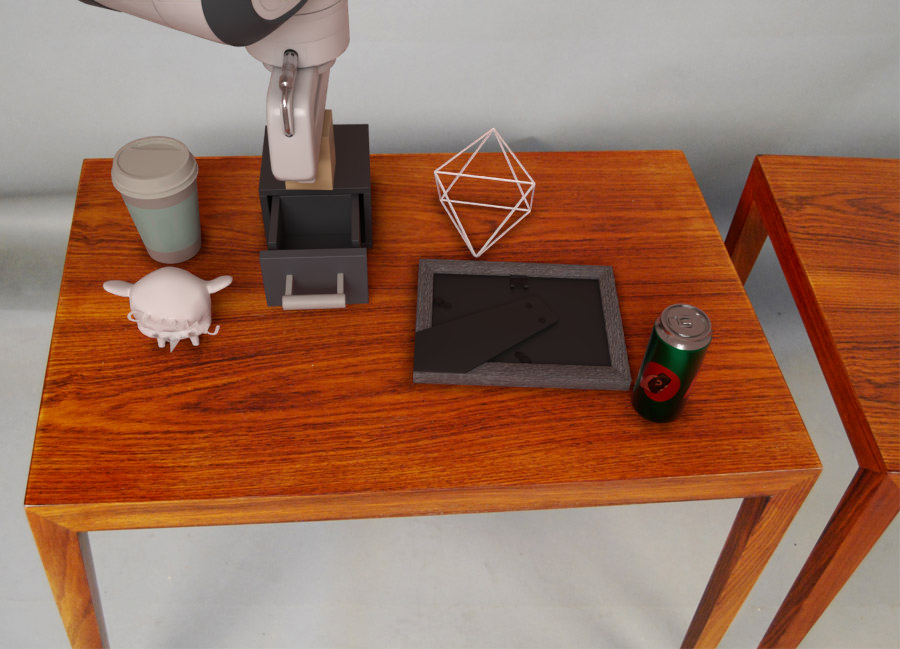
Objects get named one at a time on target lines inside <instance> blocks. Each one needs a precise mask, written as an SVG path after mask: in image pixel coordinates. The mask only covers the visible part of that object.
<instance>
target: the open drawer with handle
mask: <svg viewBox="0 0 900 649" xmlns="http://www.w3.org/2000/svg"><path fill="white" fill-rule="evenodd" d="M268 244H269V250H268V249H266V250H259V259H258V260H259V265H260V271H261V272H260V273H261V277H262V283H263V288H264V295H265V301H266V307H268V308H270V307H271V308H272V307H282V311H292V310H293V311H294V310H295V311H296V310H297V311H298V310H326V309H327V310H328V309H329V310H331V309H346V308H347V305H360V304H361V305H363V304H365V305H367V304H369V303H370V296H369V272H368V271H369V270H368V269H369V268H368V249H367V248H361V231H360V210H359V194H316V195H273V196H272V207H271V218H270V230H269V241H268Z"/></svg>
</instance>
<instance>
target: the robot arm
mask: <svg viewBox="0 0 900 649" xmlns="http://www.w3.org/2000/svg"><path fill="white" fill-rule="evenodd" d="M77 1H79V2H80V3H82V4H86V5H88V6H91V7H97V8H101V9H105V10H110V11H113V12H118V13H123V14H127V15H130V16H133V17H136V18H139V19H142V20H145V21H148V22H151V23H153V24H156V25H157V24H158V25H160V26H163V27H166V28H169V29H172V30H175V31H179V32H182V33H184V34H188V35H191V36H193V37H197V38H200V39H203V40H207V41H210V42H213V43H217V44H221V45H226V46H230V47H235V48H242V47H244V48H245V50H246V52H248V55H250V56H251V57H252V58H254V59H255V60H256V61H259V62H261V63H262V65H263V67H264V68H265V70H267V71H268V72H270V73H271V74H270V77H269V83H268V87H267V93H266V101H265V102H266V103H265V109H266V110H265V114H266V115H265V116H266V117H265V118H266V119H265V120H266V125H267V132H268V142H269V152H270V161H271V169H272V173H273V175H274V177H275V178H276V179H277V180H279V181H297V182H299V183H314V182H315V180H316V175H317V168H318V160H319V152H320V145H321V137H322V129H323V121H324V113H325V109H326V105H327V98H328V97H327V95H328V88H329V81H330V74H331V69H332V68H333V67H334V65H335V63H336V61H337V58H339V57H341V55H343V54H344V53H345V52H346V50H347V49H348V48H349V45H350V42H351V36H350V33H351V32H350V17H349V16H350V15H349V0H77Z"/></svg>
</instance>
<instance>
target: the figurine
mask: <svg viewBox="0 0 900 649" xmlns="http://www.w3.org/2000/svg"><path fill="white" fill-rule="evenodd" d="M233 278H234V277H233V276H231V275H220V276H218V277H216V278H213V279H211V280H205V279H202V278H200V277H199V276H197V275H195V274H192V273H191V272H189V271H188V270H186V269H183V268H180V267H176V266H164V267H160V268H158V269H155V270H153V271H151V272H149V273H147V274H146V275H144V276H143V277H141V278H140V279H138V281H136V282H135V283H132V282H128V281H124V280H119V279H112V280H111V279H110V280H107V281H104V282H103V284H102V288H103V289H104V291H106V292H108V293H110V294H112V295H115V296H119V297H123V298H129V308H130V312H129V313H128V314H127V319H128V320H129V321H131V322H136V324H137V328H138V330H139V332H141V334H143V335H144V336H145V337H148V338H151V339H156V341H157V344H158V347H159V348H165V347H166V343H169V348H170V350H169V351H170V353H172V352H173V350H174V349H175V348H176V346H177V345H178V344H179V342H180V340H185V339H190V341H191V344H192V345H193V346H196V347H197V346H199V345H200V337H199V336H200V335H202V334H208V335H210V336H216V335H217V334H218V333H219V330H220V327H221V325H218V324H216V326H215V329H214V332H209V331H208V330H209V328H210V327H211V325H212V298H211V294H215V293H217V292H219V291H221V290H223V289H225V288H227V287H228V286H230V285H231V284H232V282H233ZM132 315H133V317H134V318H132Z"/></svg>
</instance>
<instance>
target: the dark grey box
mask: <svg viewBox="0 0 900 649" xmlns="http://www.w3.org/2000/svg"><path fill="white" fill-rule="evenodd" d="M333 131H334V145H335V158H336V164H335V174H334V184H333V190H301V189H286V184H285V181H279V180H277V179H276V178H275V177H274V175H273V173H272V169H271V161H270V152H269V142H268V132H267V124H266V125H264V135H263V142H262V143H263V144H262V152H261V162H260V171H259V181H258V196H259V203H260V210H261V216H262V221H263V228H264V234H265V242H266V248H267V250H269V244H268V241H269V230H270V218H271V207H272V196H273V195H316V194H359V210H360V231H361V248H367V250H368V249H373V248H374V243H373V242H374V241H373V240H374V239H373V212H372V182H371V178H372V177H371V156H370V152H371V150H370V125H369V123H340V124H339V123H336V124H335V123H333Z"/></svg>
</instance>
